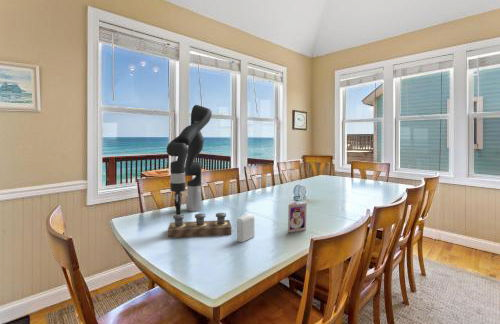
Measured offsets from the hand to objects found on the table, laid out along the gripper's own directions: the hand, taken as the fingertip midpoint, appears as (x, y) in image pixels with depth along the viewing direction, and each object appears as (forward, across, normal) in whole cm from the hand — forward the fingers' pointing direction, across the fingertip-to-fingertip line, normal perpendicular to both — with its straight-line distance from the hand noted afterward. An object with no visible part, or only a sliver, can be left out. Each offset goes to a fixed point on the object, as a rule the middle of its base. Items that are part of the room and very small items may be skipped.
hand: (178, 214), depth 139 cm
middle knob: (+6, 0, -11) cm, 13 cm away
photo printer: (+10, -13, -34) cm, 38 cm away
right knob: (+6, 0, -22) cm, 23 cm away
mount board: (+10, 0, -11) cm, 15 cm away
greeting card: (+10, -4, -62) cm, 63 cm away
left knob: (+6, 0, 0) cm, 6 cm away
